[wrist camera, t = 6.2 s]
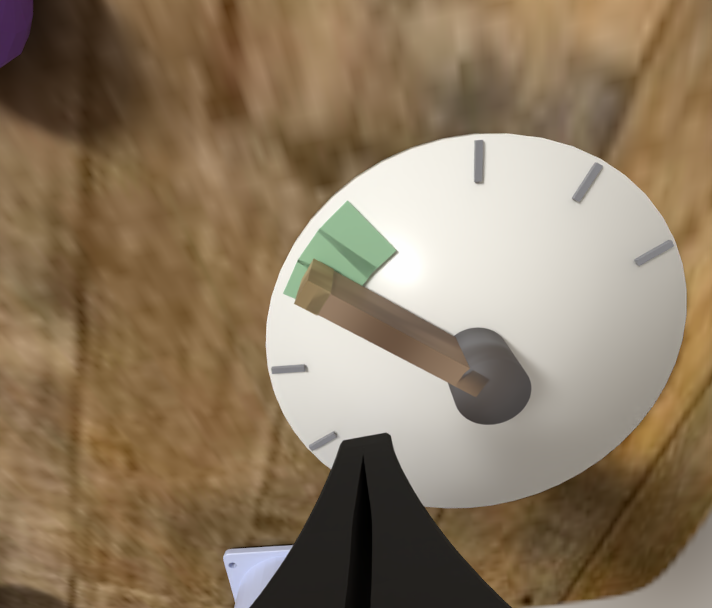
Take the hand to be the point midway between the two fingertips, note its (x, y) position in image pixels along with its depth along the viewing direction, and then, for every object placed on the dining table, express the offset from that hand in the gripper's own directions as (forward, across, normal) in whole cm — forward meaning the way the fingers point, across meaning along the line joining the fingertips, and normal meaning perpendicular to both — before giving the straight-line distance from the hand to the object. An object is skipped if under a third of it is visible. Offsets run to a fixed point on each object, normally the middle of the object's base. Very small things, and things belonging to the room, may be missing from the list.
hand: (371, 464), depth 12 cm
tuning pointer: (+9, -2, 0) cm, 9 cm away
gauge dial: (+10, -5, +3) cm, 12 cm away
